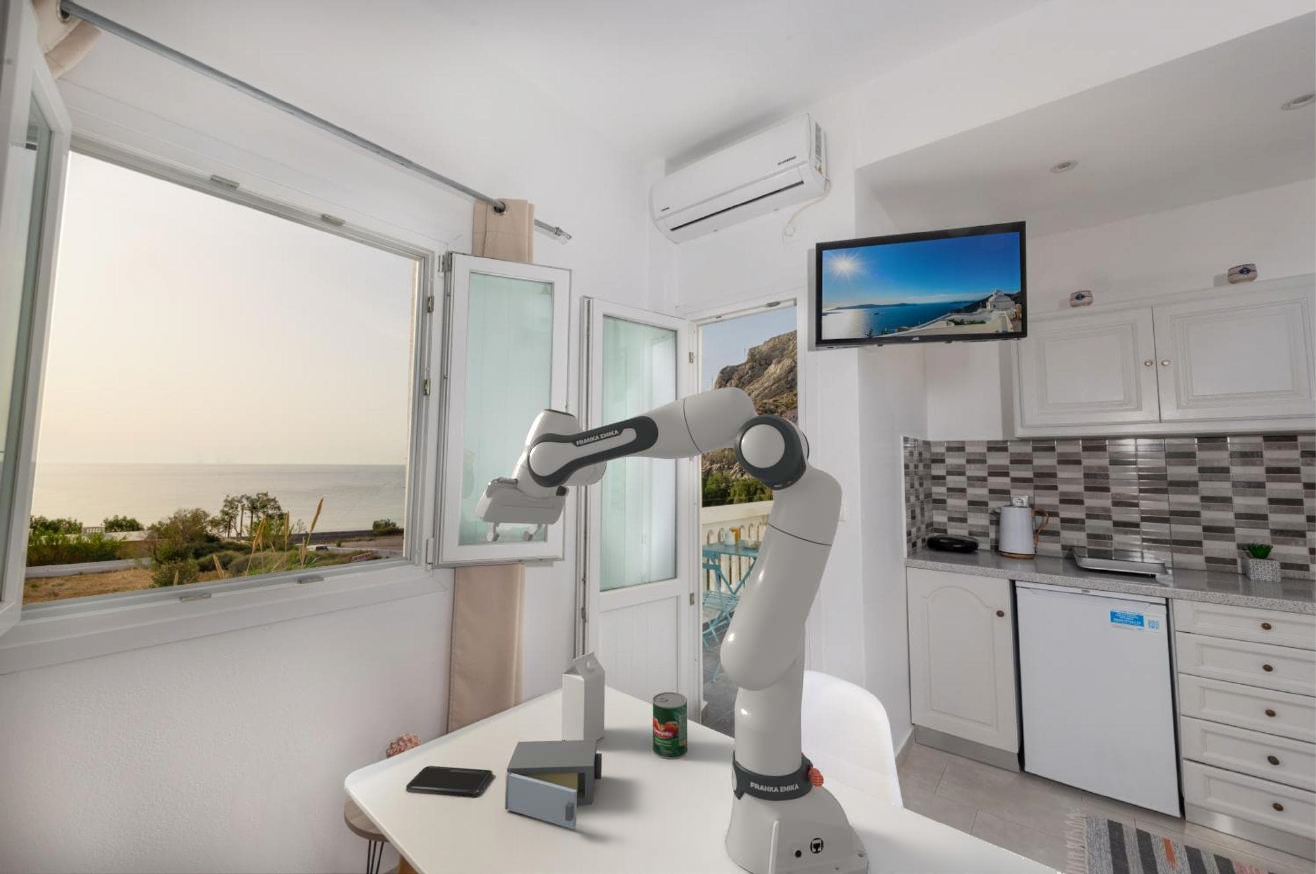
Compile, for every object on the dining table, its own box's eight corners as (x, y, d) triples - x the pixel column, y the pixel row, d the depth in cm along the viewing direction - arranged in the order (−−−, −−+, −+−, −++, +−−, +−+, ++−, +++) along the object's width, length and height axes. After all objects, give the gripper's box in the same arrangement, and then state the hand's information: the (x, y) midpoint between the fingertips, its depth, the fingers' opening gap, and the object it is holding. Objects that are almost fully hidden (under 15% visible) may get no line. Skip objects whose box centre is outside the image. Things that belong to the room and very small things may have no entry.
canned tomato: (688, 741, 118) (688, 692, 119) (687, 760, 111) (687, 707, 111) (654, 740, 119) (654, 691, 120) (650, 758, 111) (650, 706, 112)
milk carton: (561, 740, 119) (562, 656, 120) (582, 728, 125) (583, 648, 126) (583, 749, 115) (584, 662, 116) (604, 736, 120) (605, 653, 122)
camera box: (601, 774, 105) (602, 739, 106) (599, 804, 95) (599, 765, 96) (517, 777, 104) (518, 741, 105) (506, 808, 94) (507, 768, 95)
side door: (576, 825, 89) (577, 789, 89) (570, 832, 87) (571, 796, 88) (507, 805, 94) (508, 771, 95) (500, 811, 93) (501, 777, 93)
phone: (476, 793, 98) (403, 787, 99) (476, 799, 97) (403, 793, 99) (494, 770, 105) (426, 765, 107) (494, 775, 105) (426, 770, 107)
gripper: (501, 482, 97) (476, 548, 98) (575, 490, 114) (552, 546, 115) (483, 469, 101) (459, 533, 102) (557, 479, 118) (536, 534, 119)
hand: (509, 540), depth 109 cm, fingers open, 8 cm apart
